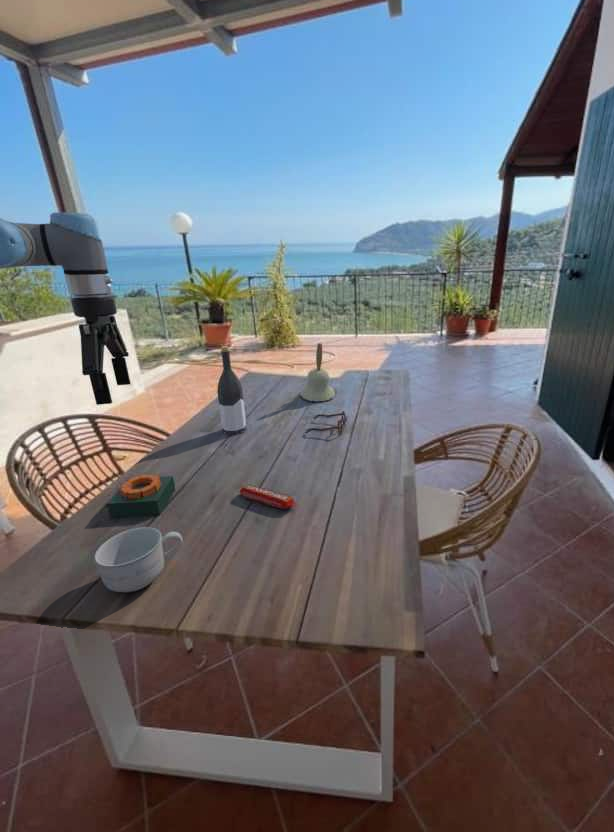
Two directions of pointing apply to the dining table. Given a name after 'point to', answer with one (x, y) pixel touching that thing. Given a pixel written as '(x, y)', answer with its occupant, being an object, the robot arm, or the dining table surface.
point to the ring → (138, 493)
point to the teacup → (134, 558)
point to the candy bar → (267, 496)
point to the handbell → (317, 382)
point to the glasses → (331, 427)
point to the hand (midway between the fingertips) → (115, 393)
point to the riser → (142, 501)
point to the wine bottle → (230, 398)
